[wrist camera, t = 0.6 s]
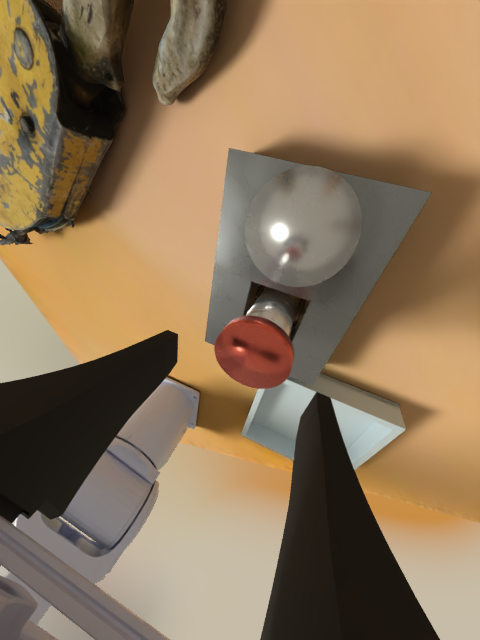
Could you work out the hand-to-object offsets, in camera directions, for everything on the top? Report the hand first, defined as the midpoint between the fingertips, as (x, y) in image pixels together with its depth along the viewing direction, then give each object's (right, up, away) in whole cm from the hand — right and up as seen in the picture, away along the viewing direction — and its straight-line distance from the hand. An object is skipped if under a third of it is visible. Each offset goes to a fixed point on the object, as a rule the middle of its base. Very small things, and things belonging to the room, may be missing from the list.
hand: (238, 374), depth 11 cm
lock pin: (+3, +5, +8) cm, 9 cm away
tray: (+8, -7, +13) cm, 17 cm away
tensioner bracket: (+4, +6, +6) cm, 10 cm away
